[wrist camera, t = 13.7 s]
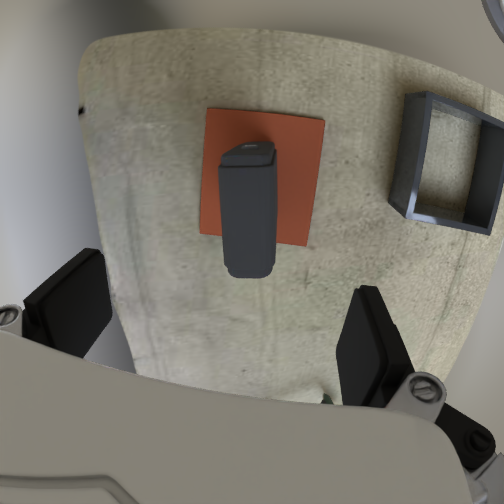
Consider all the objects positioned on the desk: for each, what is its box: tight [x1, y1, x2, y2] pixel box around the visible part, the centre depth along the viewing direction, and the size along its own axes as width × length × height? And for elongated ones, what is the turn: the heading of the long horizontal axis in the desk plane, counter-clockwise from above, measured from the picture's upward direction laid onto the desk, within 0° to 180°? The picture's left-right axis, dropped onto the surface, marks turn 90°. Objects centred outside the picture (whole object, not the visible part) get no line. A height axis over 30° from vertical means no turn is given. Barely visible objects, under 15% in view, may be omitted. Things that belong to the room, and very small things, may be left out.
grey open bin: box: [388, 91, 504, 236], centre depth 29 cm, size 14×13×6 cm
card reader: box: [218, 141, 278, 278], centre depth 28 cm, size 9×4×15 cm, turn 2°
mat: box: [200, 108, 325, 246], centre depth 35 cm, size 15×13×1 cm
